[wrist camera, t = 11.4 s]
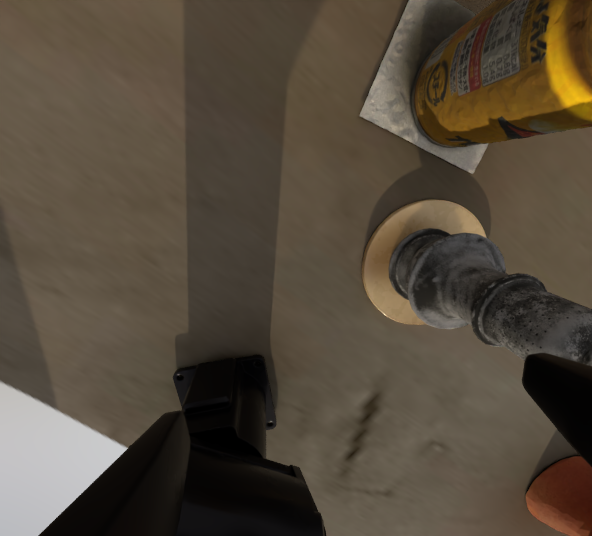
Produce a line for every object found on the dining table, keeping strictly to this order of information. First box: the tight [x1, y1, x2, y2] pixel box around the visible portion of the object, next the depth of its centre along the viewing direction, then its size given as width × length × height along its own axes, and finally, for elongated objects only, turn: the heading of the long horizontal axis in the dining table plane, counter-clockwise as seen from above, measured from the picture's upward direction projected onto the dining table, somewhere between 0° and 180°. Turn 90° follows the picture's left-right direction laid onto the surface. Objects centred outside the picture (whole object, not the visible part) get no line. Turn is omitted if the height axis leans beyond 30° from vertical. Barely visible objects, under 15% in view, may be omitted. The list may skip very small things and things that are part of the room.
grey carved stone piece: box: [388, 228, 592, 366], centre depth 15 cm, size 6×6×12 cm
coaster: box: [362, 199, 486, 325], centre depth 21 cm, size 9×9×1 cm
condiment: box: [359, 0, 592, 174], centre depth 12 cm, size 7×8×12 cm
